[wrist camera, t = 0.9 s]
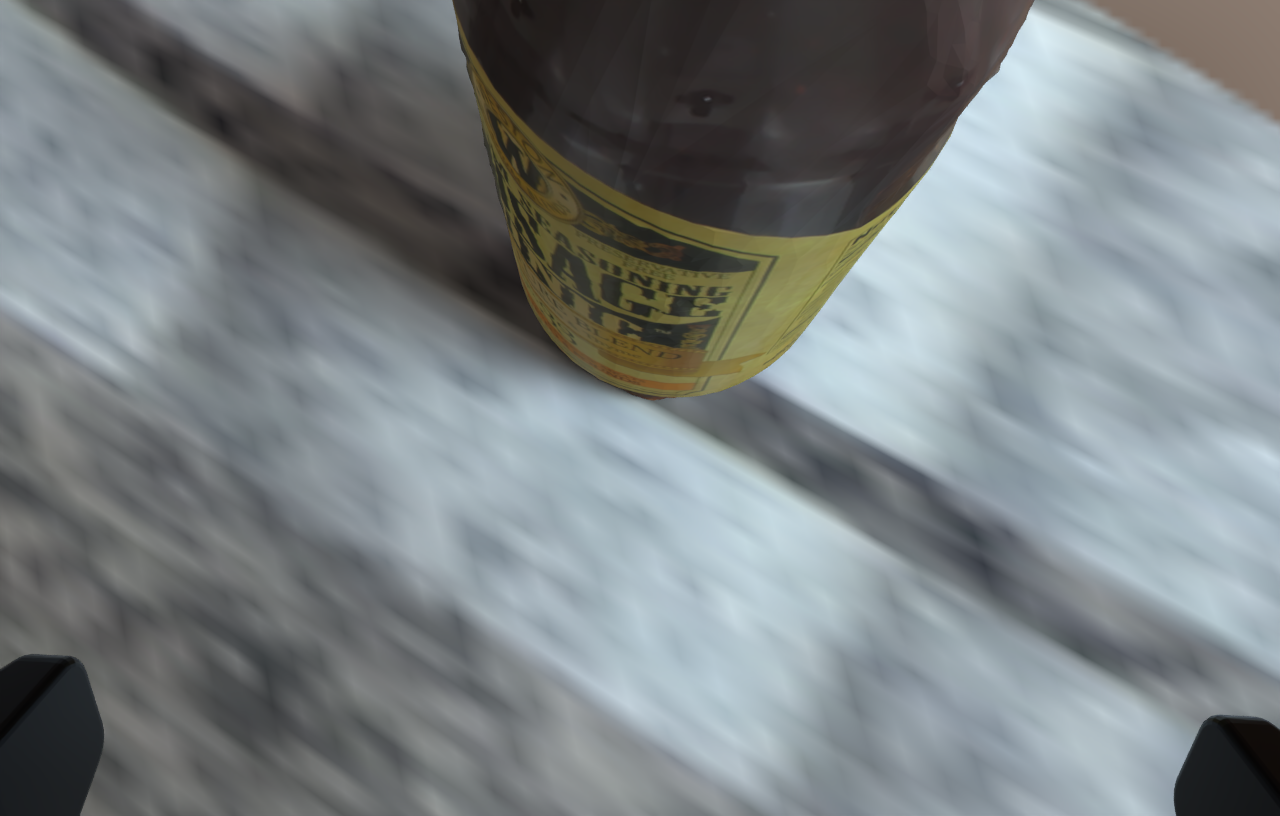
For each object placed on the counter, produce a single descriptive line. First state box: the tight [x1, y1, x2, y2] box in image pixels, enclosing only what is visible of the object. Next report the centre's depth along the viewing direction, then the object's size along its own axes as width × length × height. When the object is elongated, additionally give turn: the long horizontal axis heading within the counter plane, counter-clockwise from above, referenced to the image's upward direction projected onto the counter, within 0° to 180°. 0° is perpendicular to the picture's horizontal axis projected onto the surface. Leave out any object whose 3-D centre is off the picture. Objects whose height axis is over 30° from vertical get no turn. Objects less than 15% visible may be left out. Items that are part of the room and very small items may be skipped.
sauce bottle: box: [452, 0, 1034, 400], centre depth 13 cm, size 7×6×20 cm
